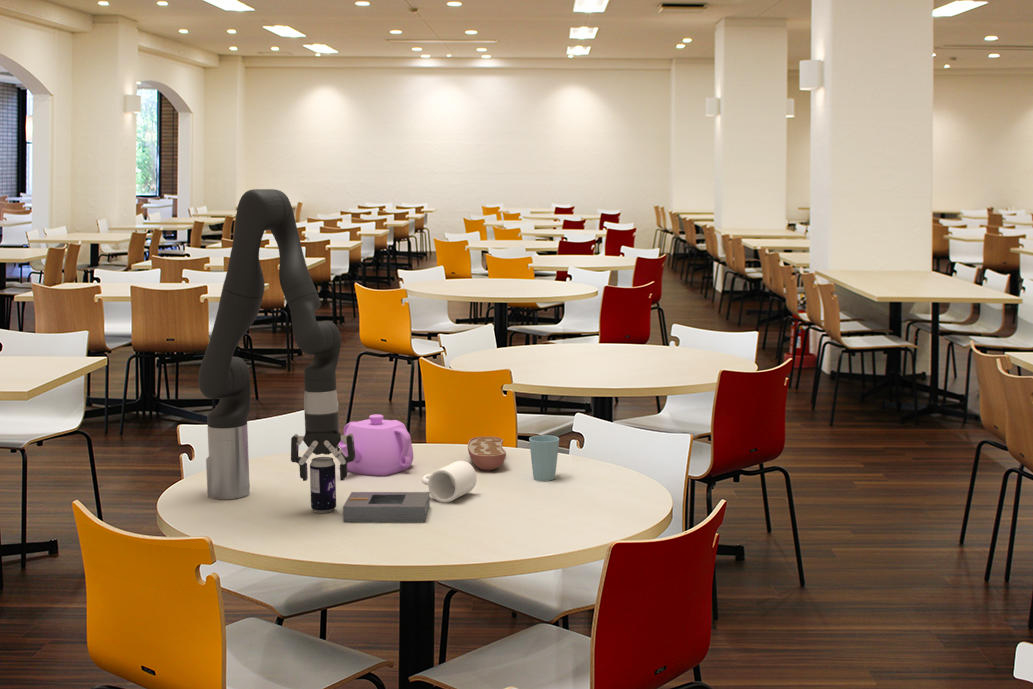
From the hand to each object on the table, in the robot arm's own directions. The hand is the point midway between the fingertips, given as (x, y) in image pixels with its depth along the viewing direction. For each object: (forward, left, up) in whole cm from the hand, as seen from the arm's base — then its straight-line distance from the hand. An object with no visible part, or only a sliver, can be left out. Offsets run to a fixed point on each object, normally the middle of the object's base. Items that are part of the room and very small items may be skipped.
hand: (324, 479), depth 243 cm
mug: (+27, +12, -8) cm, 30 cm away
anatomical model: (+35, +45, -8) cm, 58 cm away
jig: (+15, -3, -7) cm, 17 cm away
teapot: (+6, +38, -8) cm, 39 cm away
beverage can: (0, 0, -7) cm, 7 cm away
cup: (+51, +29, -7) cm, 59 cm away
